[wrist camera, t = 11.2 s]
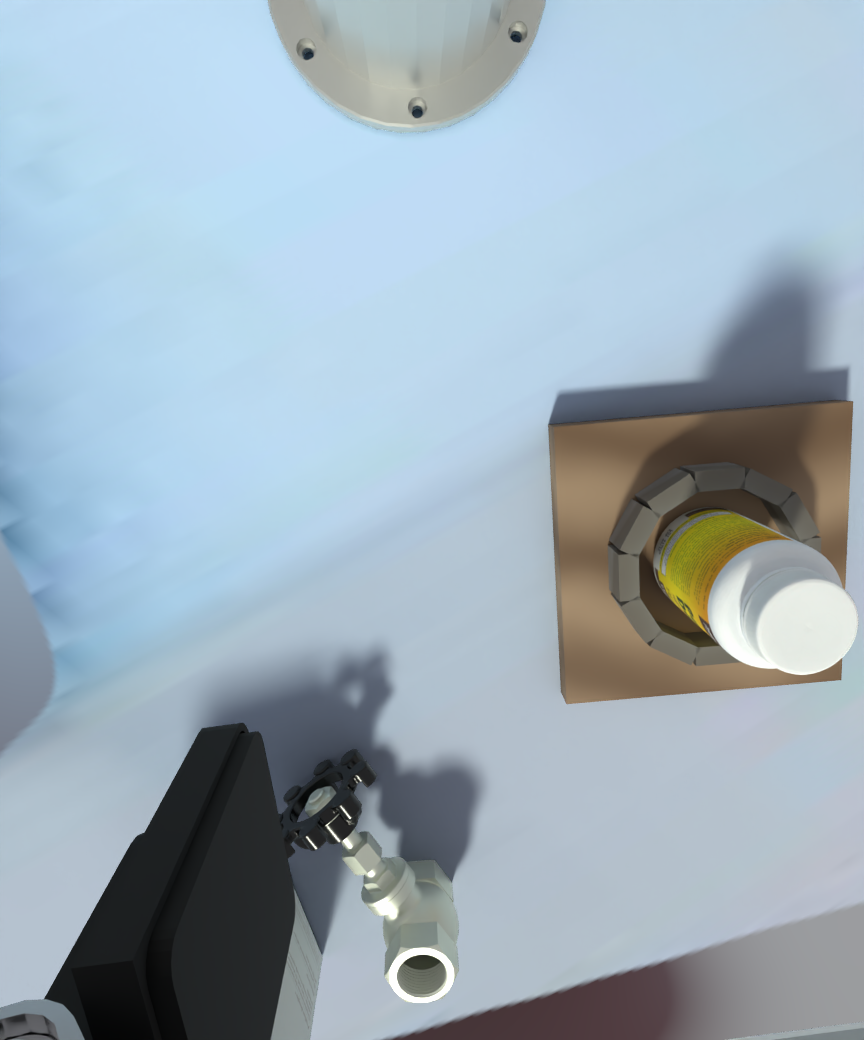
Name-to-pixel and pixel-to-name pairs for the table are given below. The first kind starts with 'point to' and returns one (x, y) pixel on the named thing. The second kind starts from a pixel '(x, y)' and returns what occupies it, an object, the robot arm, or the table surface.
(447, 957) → the valve
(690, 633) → the collar plate
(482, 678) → the table surface
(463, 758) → the table surface
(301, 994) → the supplement box
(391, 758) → the table surface
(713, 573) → the supplement bottle
